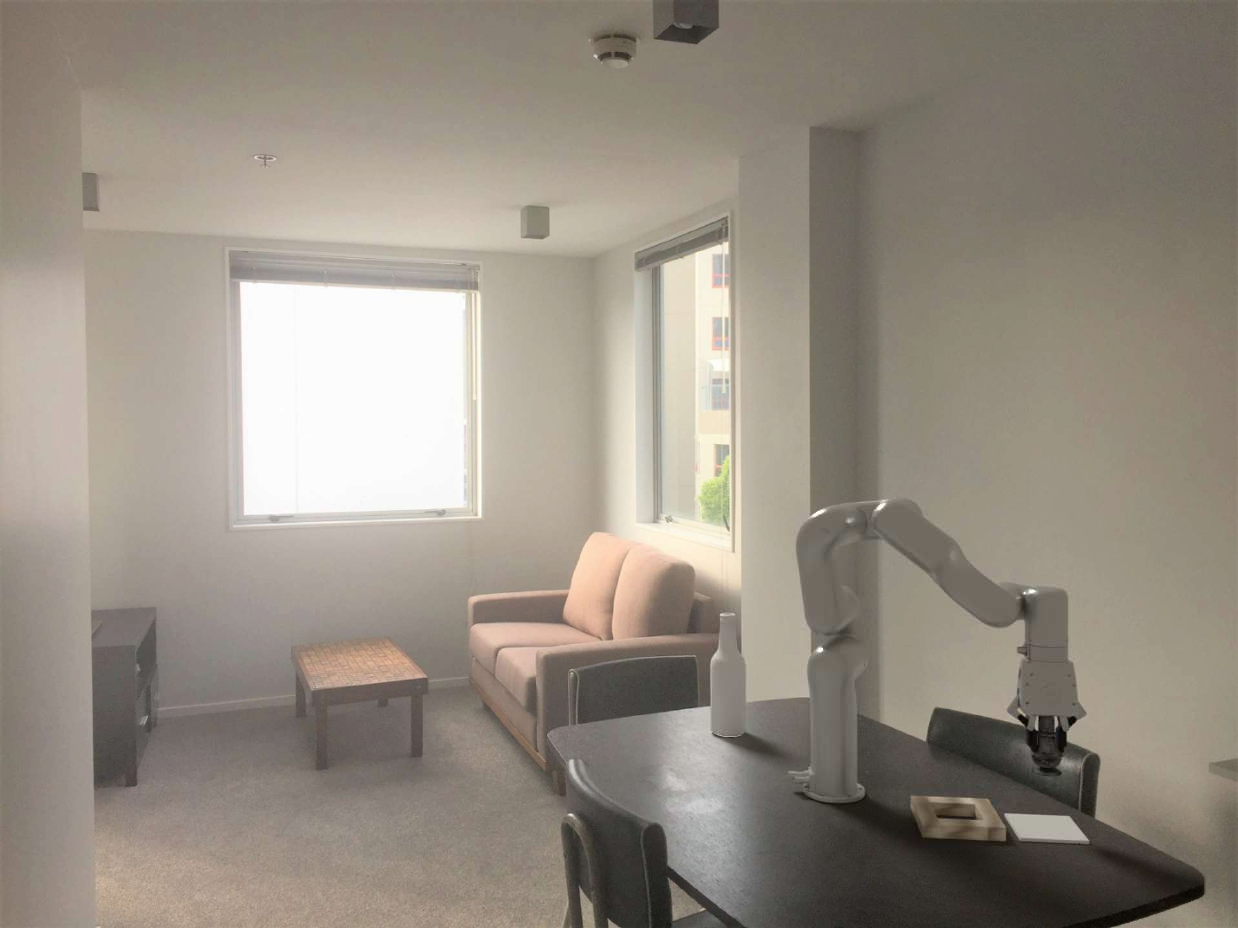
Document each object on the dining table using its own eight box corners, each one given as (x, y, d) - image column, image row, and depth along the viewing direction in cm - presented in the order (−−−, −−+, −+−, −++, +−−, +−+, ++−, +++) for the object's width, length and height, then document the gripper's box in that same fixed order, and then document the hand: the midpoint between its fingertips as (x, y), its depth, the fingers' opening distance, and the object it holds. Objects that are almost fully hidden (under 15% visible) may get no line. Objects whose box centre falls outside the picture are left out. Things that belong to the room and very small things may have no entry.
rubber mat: (1020, 840, 186) (1020, 837, 186) (1004, 816, 198) (1004, 813, 197) (1089, 843, 184) (1089, 840, 184) (1069, 818, 196) (1069, 815, 196)
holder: (922, 837, 188) (922, 823, 188) (910, 807, 202) (910, 795, 202) (1005, 841, 186) (1006, 827, 186) (987, 811, 200) (987, 798, 200)
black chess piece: (1066, 777, 187) (1066, 713, 187) (1032, 776, 188) (1032, 711, 188) (1059, 767, 193) (1059, 704, 192) (1026, 765, 194) (1026, 703, 193)
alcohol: (751, 731, 255) (751, 612, 254) (737, 740, 247) (736, 618, 247) (719, 726, 260) (719, 609, 259) (704, 734, 252) (704, 615, 251)
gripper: (1004, 656, 187) (1004, 754, 188) (1100, 658, 185) (1100, 757, 185) (995, 648, 195) (995, 742, 195) (1087, 649, 192) (1087, 745, 193)
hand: (1046, 748), depth 190 cm, fingers closed on black chess piece, 4 cm apart
